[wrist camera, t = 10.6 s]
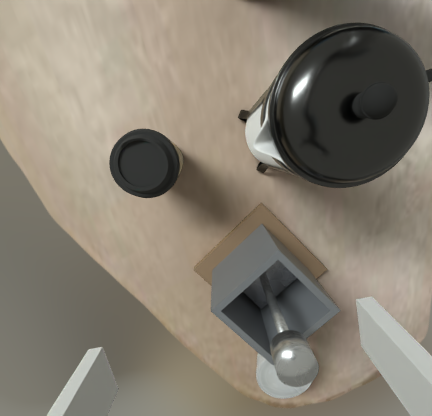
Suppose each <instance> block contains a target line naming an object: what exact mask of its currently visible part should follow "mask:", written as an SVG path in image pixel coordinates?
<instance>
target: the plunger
mask: <svg viewBox="0 0 432 416" xmlns="http://www.w3.org/2000/svg"><path fill="white" fill-rule="evenodd" d="M295 279H297V277H296V276H295V275H294V274H292V273H291V272H290V271H289V270H288V269H287V268H286V267H285V266H284V265H283V264H282V263H281V262H280V261H279V260H277V261H276V262H275V263H274V264H273V265H272V266H270V267H269V268H268V269H267V270H266V271H265V272H264V273H263V274H262V275H260V276H259V277H258V278H257V279H256V280H255V281H254V282H253V283H252V284H250V285H249V286H248V287H247V288H246V289H245V290H244V291H243V293H245V294H246V295H247V296H248V297H249V298H250V299H251V300H252V301H253V302H254V303H255V304H257V305H258V306H259V307H260V308H261V309H262V308H263V307H264V306H266V305H267V304H268V305H269V308H270V311H271V314H272V317H273V320H274V323H275V326H276V329H277V332H278V334H277V335H276V336H275V337H274V338H273V339H272V341H271V344H270V351H271V355H272V359H273V362H274V366H275V370H276V373H277V376H278V378H279V380H280V381H281V382H282V383H284V384H285V385H288V386H291V387H301V386H305V385H307V384H309V383H310V382H312V381H313V380H314V379H315V378H316V376H317V374H318V370H319V365H318V362H317V360H316V358H315V356H314V354H313V352H312V350H311V347H310V345H309V343H308V341H307V339H306V337H305V336H304V335H303V334H302V333H300V332H298V331H294V330H289V329H288V327H287V324H286V322H285V319H284V317H283V314H282V312H281V309H280V307H279V305H278V302H277V300H276V296H277V295H278V294H279V293H281V292H282V291H283V290H284V289H285V288H286V287H287V286H289V285H290V284H291V283H292V282H293V281H294V280H295Z"/></svg>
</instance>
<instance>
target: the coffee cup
mask: <svg viewBox="0 0 432 416" xmlns="http://www.w3.org/2000/svg"><path fill="white" fill-rule="evenodd" d="M182 166H183V156H182V153H181V151H180V150H179V148H178V147H177V146H176V145H175V144H174V143H173V142H171V141H170V140H169V139H168V138H167V137H165V136H164V135H162V134H161V133H159V132H157V131H154V130H150V129H137V130H133V131H131V132H129V133H127V134H125V135H124V136H123V137H121V138H120V139H119V140H118V142H117V143H116V144H115V145H114V147H113V149H112V152H111V155H110V171H111V174H112V176H113V178H114V180H115V182H116V183H117V184H118V185H119V186H120V187H121V188H122V189H123V190H124V191H126V192H128V193H130V194H132V195H135V196H138V197H142V198H153V197H157V196H160V195H162V194H164V193H166V192H167V191H168V190H169V189H170V188H171V187H172V186H173V185H174V183H175V182H176V180H177V178H178V176H179V174H180V172H181V170H182Z"/></svg>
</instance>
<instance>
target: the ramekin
mask: <svg viewBox="0 0 432 416" xmlns="http://www.w3.org/2000/svg"><path fill="white" fill-rule="evenodd" d="M256 378H257V382H258V384H259V386H260V388H261V389H262V390H263V391H264V392H265V393H266V394H268V395H270V396H272V397H275V398H292V397H295V396H298V395H300V394H301V393H303V392H304V391H306V390H307V389H308V388H309V386H310V385H311V383H312V382H310V383H309V384H307V385H305V386H301V387H291V386H288V385H285V384H284V383H282V382H281V381H280V380H279V378H278V376H277V373H276V370H275V366H274V365H272V364H271V363H269V362H268V361H267V360H266V359H265V358H264V357H263V356H261V355H260V354H259V353H258V355H257V369H256Z"/></svg>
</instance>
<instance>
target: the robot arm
mask: <svg viewBox="0 0 432 416" xmlns="http://www.w3.org/2000/svg"><path fill="white" fill-rule="evenodd" d="M356 305H357V314H358V323H359V332H360V340H361V346H362V348H363V349H364V351H365V352H366V354H367V355H368V356H369V358H370V359H371V361H372V362H373V363H374V365H375V366H376V368H377V369H378V370H379V372H380V373H381V375H382V376H383V378H384V379H385V380H386V382H387V383H388V384H389V386H390V387H391V389H392V390H393V392H394V393H395V394H396V396H397V397H398V399H399V400H400V401H401V403H402V404H403V406H404V407H405V409H406V410H407V412H408V413H409V414H410V416H432V356H431V355H430V354H429V353H428V352H427V351H426V350H425V349H424V348H423V347H422V346H421V345H420V344H419V343H418V342H417V341H416V340H415V339H414V338H413V337H412V336H411V335H410V334H409V333H408V332H407V331H406V330H405V329H404V328H403V327H402V326H401V325H400V324H399V323H398V322H397V321H396V320H395V319H394V318H393V317H392V316H391V315H390V314H389V313H388V312H387V311H386V310H385V309H384V308H383V307H382V306H381V305H380V304H379V303H378V302H377V301H376V300H375V299H374V298H373V297H372V296H371V297H366V298H361V299H356ZM118 389H119V388H118V386H117V383H116V380H115V378H114V375H113V373H112V370H111V368H110V365H109V362H108V360H107V357H106V355H105V352H104V349H103V347H99V348H94V349H89V350H88V351H87V353H86V355H85V356H84V358H83V359H82V361H81V362H80V364H79V365H78V367H77V369H76V370H75V372H74V373H73V375H72V376H71V378H70V380H69V381H68V383H67V384H66V386H65V387H64V389H63V391H62V392H61V394H60V395H59V397H58V398H57V400H56V402H55V403H54V405H53V406H52V408H51V409H50V411H49V413H48V414H47V416H107V415H108V413H109V411H110V408H111V406H112V403H113V401H114V399H115V396H116V394H117V391H118Z"/></svg>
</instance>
